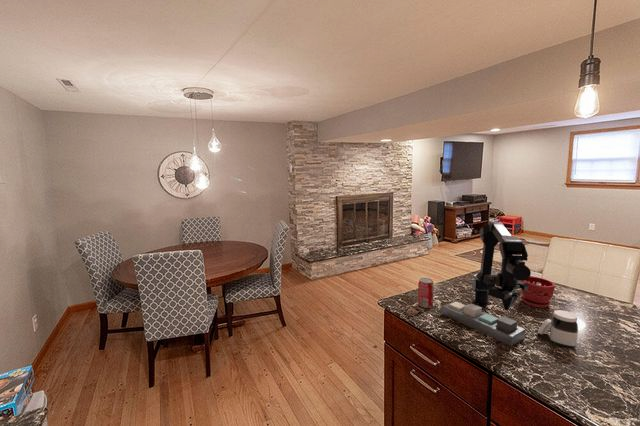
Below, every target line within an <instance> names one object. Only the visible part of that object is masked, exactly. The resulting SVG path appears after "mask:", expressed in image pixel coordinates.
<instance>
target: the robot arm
mask: <svg viewBox="0 0 640 426" xmlns="http://www.w3.org/2000/svg"><path fill="white" fill-rule="evenodd" d="M479 237H480V240H481V241H482V243H483V247H482V253H481V262H480V271H478V273H477V274H476V275H475V279H474V280H473V281H472V283H471V289H472V290H473V292H474V293H475V294H474V295H475V296H474V299H472V301H471V302H472V303H473V304H474V303H475V304H476V305H480V306H482V307H487V306H489V305H491V304H492V301H489V297H493V298H495V299H498V300H501V302H502V304H503V305H502V306H503V308H504V310H505V311H507V312H508V311H509V310H510V309H511V307H512V306H513V305H514V303H515V302H516V301H517V299H518V298H519V296H521V293H519V292H518V291H517V290H519V289H521V288H523V289H522V290H523V291H527V290H528V284H527V283H525V282H522V281H524V280H527V279H528V278H529V277H530V276H531V274H532V273H531V270H530V267H528V266H527V265H526V262H525V261H528V257H529V254H528V252H527V251H528V250H527V249H526V248H527V247H526V246H525V243H524V242H523V241H522V239H520V238H518V237H515V236H513V235H512V234H511V233H510V232H509V231H508V229H507V228H506V227H505V224H504V223H502V222H501V221H500V222H498V221H495V222H493V221H492V222H489V224H486V225H483V226H481V228H480V229H479ZM498 244H499V245H498ZM497 245H498V249H499V252H500V255H501V267H500V272H498V273H497V274H492V269H493V264H494V263H493V261H494V255H495V247H496V246H497Z"/></svg>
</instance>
